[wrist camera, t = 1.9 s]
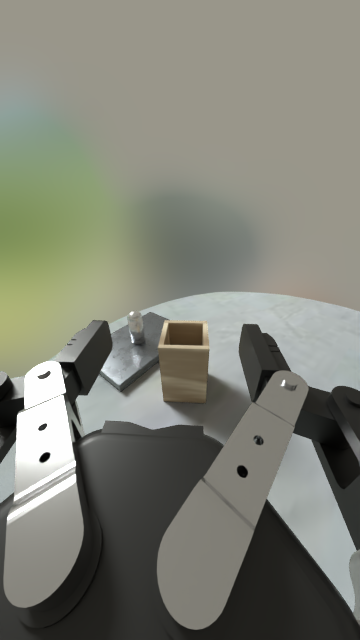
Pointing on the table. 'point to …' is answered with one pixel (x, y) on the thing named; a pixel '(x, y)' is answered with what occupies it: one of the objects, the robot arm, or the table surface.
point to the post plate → (133, 349)
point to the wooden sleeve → (184, 361)
